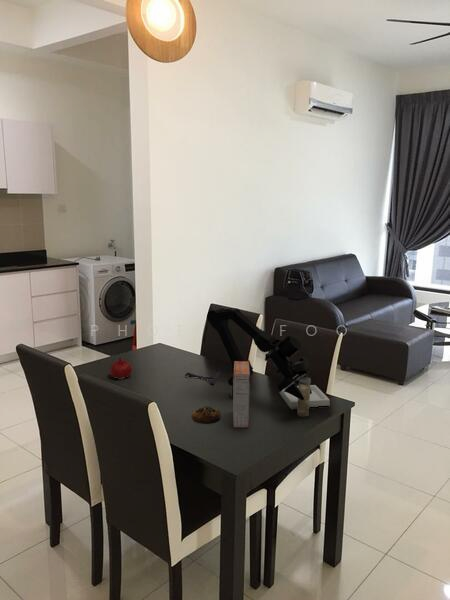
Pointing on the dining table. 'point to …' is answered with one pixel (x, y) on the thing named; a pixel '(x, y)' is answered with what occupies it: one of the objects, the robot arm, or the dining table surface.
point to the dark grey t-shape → (206, 377)
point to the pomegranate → (120, 369)
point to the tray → (315, 400)
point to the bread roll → (206, 415)
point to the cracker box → (241, 394)
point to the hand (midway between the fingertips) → (307, 396)
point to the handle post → (305, 391)
